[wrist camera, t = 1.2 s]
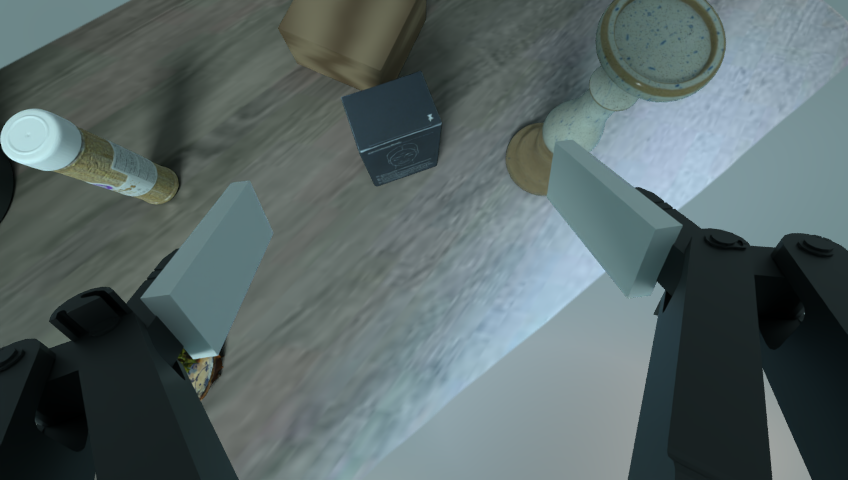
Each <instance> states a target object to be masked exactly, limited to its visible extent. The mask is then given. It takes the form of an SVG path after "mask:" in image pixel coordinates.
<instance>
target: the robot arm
mask: <svg viewBox="0 0 848 480" xmlns="http://www.w3.org/2000/svg"><path fill="white" fill-rule="evenodd" d="M12 192H13V173H12V168H11V165H10V162H9V160H8V158H7V156H6V154H5V153H4V151H3V150H2V149H1V148H0V221H1V220H2V218H3V217H4V215H5V213H6V211H7V209H8V206H9V204H10V201H11V197H12ZM547 198H548V200H549V201H550V202H551V203H552V205H553V206H554V207H555V208H556V210H557V211H558V212H559V213H560V215H561V216H562V217H563V218H564V220H565V221H566V222H567V223H568V225H569V226H570V227H571V228H572V230H573V231H574V232H575V233H576V235H577V236H578V237H579V238H580V240H581V241H582V242H583V243H584V245H585V246H586V247H587V248H588V250H589V251H590V252H591V253H592V255H593V256H594V257H595V258H596V260H597V261H598V262H599V263H600V265H601V266H602V267H603V269H604V270H605V271H606V272H607V274H608V275H609V276H610V277H611V279H612V280H613V281H614V282H615V284H616V285H617V286H618V287H619V288H620V290H621V291H622V292H623V293H624V295H625V296H626V297H627V298H635V297H642V296H649V295H651V293H652V291H653V289H654V287H655V285H656V282H658V283H659V284H660V285H661V286H662V287H663V288H664V289H665V292H664V294H663V296H662V298H661V300H660V302H659V304H658V306H657V308H656V310H655V312H654V315H658V319H657V325H656V330H655V335H654V341H653V346H652V352H651V357H650V362H649V368H648V373H647V378H646V384H645V390H644V395H643V400H642V406H641V411H640V416H639V422H638V427H637V433H636V438H635V443H634V449H633V454H632V460H631V465H630V471H629V476H628V480H772V471H771V460H770V448H769V437H768V427H767V414H766V404H765V392H764V382H763V370H764V372H765V374H766V376H767V379H768V381H769V383H770V386H771V388H772V390H773V392H774V395H775V397H776V399H777V401H778V404H779V406H780V408H781V411H782V413H783V415H784V417H785V420H786V422H787V424H788V427H789V429H790V431H791V433H792V435H793V438H794V440H795V442H796V444H797V447H798V449H799V451H800V454H801V456H802V458H803V460H804V463H805V465H806V467H807V469H808V472H809V474H810V476H811V479H812V480H848V251H847V250H846V249H845V248H844V247H842V246H841V245H839V244H837V243H835V242H832V241H831V240H829V239H827V238H822V237H821V236H816V235H809V234H801V233H792V234H788V235H785V236H784V237H783V238H782V239H781V241H780V242H779V243H778V245H777V246H776V248H773V247H758V246H750V245H749V243H748V242H746V241H745V240H744V239H743V238H741V237H739V236H737V235H735V234H733V233H730V232H727V231H723V230H719V229H711V228H708V229H701V228H699V227H698V226H697V225H696V224H694V223H693V222H692V221H690V220H689V219H688V218H686V217H685V216H684V215H682V214H681V213H679V212H678V211H677V210H676V209H673V207H671V206H670V205H669V204H667V203H664V201H663V200H662V199H661V198H659V197H658V196H657V195H655V194H654V193H652V192H650V191H647V190H645V189H642V188H640V187H636V188H634V187H633V186H632V185H630V184H629V183H628V182H626V181H625V180H624V179H623V178H621V177H620V176H619V175H617V174H616V173H615V172H614V171H612V170H611V169H610V168H608V167H607V166H606V165H605V164H603V163H602V162H601V161H599V160H598V159H597V158H596V157H594V156H593V155H592V154H590V153H589V152H588V151H587V150H585V149H584V148H583V147H581V146H580V145H579V144H578V143H576V142H575V141H574V140H564V141H557V142H555V145H554V152H553V159H552V165H551V172H550V178H549V185H548V192H547ZM272 235H273V231H272V229H271V227H270V224H269V222H268V220H267V218H266V215H265V213H264V211H263V209H262V207H261V204H260V202H259V200H258V198H257V195H256V193H255V191H254V189H253V187H252V184H251V182H250V180H249V181H242V182H234V183H231V184H230V185H229V187H228V188H227V189H226V190H225V192H224V193H223V194H222V195H221V197H220V198H219V199H218V201H217V202H216V203H215V204H214V206H213V207H212V208H211V209H210V211H209V212H208V213H207V214H206V216H205V217H204V218H203V219H202V221H201V222H200V223H199V225H198V226H197V227H196V228H195V230H194V231H193V232H192V233H191V235H190V236H189V237H188V238H187V240H186V241H185V242H184V244H183V245H182V246H181V247H180V248H179V249H176V250H174V251H173V252H172V253H170V254H169V255H168V256H166V257H165V258H163V259H162V261H161V262H160V263H159V264H158V266H157V267H156V268H155V269H154V270H155V271H154V272H152V273H151V274H150V275H149V276H148V278H147V280H146V281H144V283H143V284H142V285H141V286H140V287H139V289H138V290H137V291H136V292H135V294H134V295H133V296H132V297H131V298H130V300H129V301H128V302H127V303H125V302H124V301H123V300H122V299H121V298H120V297H119V296H118V295H117V294H116V292H115V291H114V290H112V289H111V288H110V287H99V288H94V289H90V290H88V291H85V292H83V293H80V294H78V295H76V296H74V297H73V298H71V299H69V300H67V301H66V302H65V303H63V304H62V305H61V306H59V307H58V308H57V309H56V310H55V311H54V313H53V314H52V315H51V317H50V320H49V322H50V323H51V324H52V325H54V326H55V327H56V328H57V329H58V330H60V331H61V332H62V333H63V334H64V335H66V336H67V337H68V338H69V339H70V340H72V341H69V342H66V343H64V344H61V345H58V346H55V347H52V348H48V347H46V346H45V345H44V344H42V343H41V342H40V341H38V340H37V339H25V340H21V341H18V342H15V343H12V344H10V345H8V346H6V347H2V348H1V349H0V480H94V478H95V472H96V477H97V480H239V479H238V477H237V475H236V473H235V471H234V469H233V467H232V465H231V463H230V461H229V459H228V457H227V455H226V452H225V450H224V448H223V446H222V444H221V442H220V440H219V438H218V436H217V434H216V432H215V430H214V428H213V426H212V424H211V422H210V420H209V418H208V415H207V413H206V411H205V409H204V407H203V405H202V403H201V401H200V399H199V397H198V395H197V393H196V391H195V389H194V387H193V385H192V383H191V381H190V378H189V376H188V374H187V372H186V370H185V368H184V366H183V365H182V364H181V363H180V361H179V360H178V359H177V358H178V356H179V355H180V353H181V351H182V349H183V348H184V349H185V350H186V351H187V353H188V354H189V355H190V356H191V357H192V358H193V359H198V358H205V357H213V356H218V355H219V352H220V350H221V348H222V346H223V344H224V341H225V339H226V337H227V335H228V333H229V330H230V328H231V326H232V324H233V322H234V319H235V317H236V315H237V313H238V310H239V308H240V306H241V304H242V302H243V299H244V297H245V295H246V293H247V291H248V288H249V286H250V284H251V282H252V279H253V277H254V275H255V273H256V271H257V268H258V266H259V264H260V262H261V260H262V257H263V255H264V253H265V251H266V249H267V246H268V244H269V242H270V240H271V237H272ZM804 313H805V315H804ZM762 368H763V370H762ZM36 423H37V425H36Z"/></svg>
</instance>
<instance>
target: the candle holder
mask: <svg viewBox="0 0 848 480" xmlns="http://www.w3.org/2000/svg"><path fill="white" fill-rule="evenodd" d="M725 50H726V38H725V31H724V28H723V25H722V22H721V20H720V18H719V16H718V14H717V13H716V11H715V10H714V9H713V7H712V6H711V5H710V4H709V3H708V2H707V1H706V0H614V1H613V2H612V3H611V4H610V5H609V6H608V8H607V9H606V11H605V12H604V13H603V15H602V17H601V19H600V21H599V24H598V28H597V32H596V51H597V55H598V59H599V61H600V63H601V66H600V67H599V68H597V69H596V70H595V71H594V72H593V74H592V76H591V78H590V81H589V89H588V90H587V91H586V92H585V93H584V94H583V95H582V96H581V97H579V98H577V99H572V100H569V101H566V102H564V103H562V104H560V105H558V106H557V107H555V108H554V109H553V110H552V111H551V112H550V113H549V114H548V116H547V117H546V119H545V121H544V123H534V124H531V125H528V126H526V127H524V128H522V129H521V130H520V131H518V132H517V133H516V134H515V135H514V137H513V138H512V140H511V141H510V143H509V145H508V148H507V152H506V166H507V170H508V172H509V174H510V176H511V178H512V179H513V181H514V182H515V183H516V184H517V185H518V186H519V187H520V188H522V189H523V190H525V191H527V192H529V193H531V194H535V195H540V196H547V192H548V185H549V178H550V172H551V165H552V159H553V152H554V145H555V142H557V141H564V140H574V141H575V142H576V143H578V144H579V145H580V146H581V147H583V148H584V149H585V150H587V151H588V152H590V151H592V150H593V149H594V148H595V147H596V145H597V144H598V143H599V141H600V139H601V136H602V134H603V131H604V127H605V122H606V120H607V119H608V118H609V117H610V116H611V115H612V114H613V113H614V112H615V111H623V110H626V109H628V108H630V107H631V106H633V105H634V104H635V103H636V101H637V100H638V98H640V99H643V100H646V101H652V102H671V101H677V100H680V99H683V98H686V97H689V96H691V95H692V94H694V93H696V92H698V91H699V90H700V89H702V88H703V87H704V86H706V85H707V84H708V82H709V81H710V80H711V79H712V78H713V77H714V76H715V74H716V73H717V71H718V70H719V68H720V66H721V63H722V61H723V58H724V54H725Z"/></svg>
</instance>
